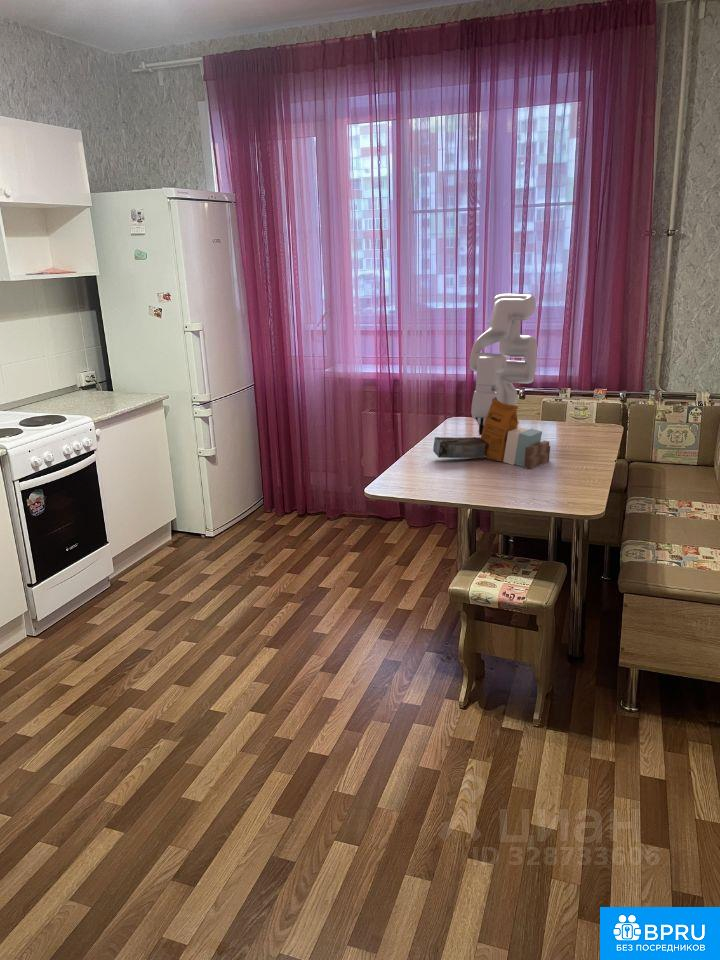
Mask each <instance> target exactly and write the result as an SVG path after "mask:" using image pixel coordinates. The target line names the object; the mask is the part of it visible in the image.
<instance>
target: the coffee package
mask: <svg viewBox="0 0 720 960" xmlns="http://www.w3.org/2000/svg"><path fill="white" fill-rule="evenodd" d="M518 408H519V406H518V405H516V406H515V405H509V404H503V403H501V402H500V401H498V400H496V399H494V400H493V402H492V404H491V406H490V409H489V412H488V414H487V417H486V419H485V423H484V427H483V431H482V435H480V438H481V439H482V440H483V441H484V442H485V443H486V451H485V456H486V458H487V459H489V460H493V461H498V462H503V460H504V454H505V448H506V441H507V435H508V432H509V431H511V430H514V429H516V428H518V425H519V424H518V421H519V420H518V415H517V410H518Z"/></svg>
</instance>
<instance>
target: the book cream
mask: <svg viewBox="0 0 720 960" xmlns="http://www.w3.org/2000/svg"><path fill="white" fill-rule="evenodd" d="M529 429H530V428H526V427H522V426H519V427H517V428H516V429H514V430H511V431H509V432H508V435H507V441H506V448H505V454H504V460H503V461H502V462H503V463H506V464H509V465H512V464H513V465H512V466H515V465H514V463H515V456H516V450H517V444H518V438H519V433H521V432H524V431H526V430H529Z"/></svg>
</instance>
